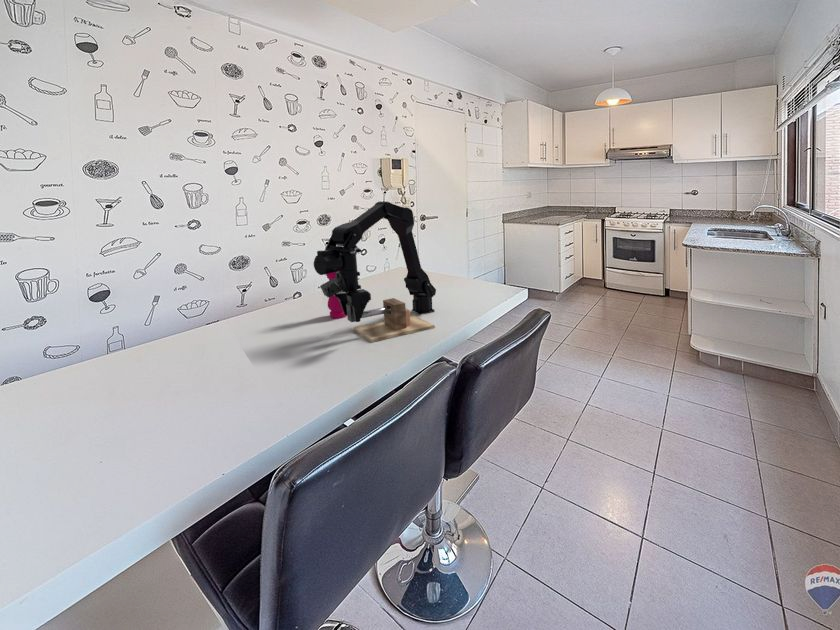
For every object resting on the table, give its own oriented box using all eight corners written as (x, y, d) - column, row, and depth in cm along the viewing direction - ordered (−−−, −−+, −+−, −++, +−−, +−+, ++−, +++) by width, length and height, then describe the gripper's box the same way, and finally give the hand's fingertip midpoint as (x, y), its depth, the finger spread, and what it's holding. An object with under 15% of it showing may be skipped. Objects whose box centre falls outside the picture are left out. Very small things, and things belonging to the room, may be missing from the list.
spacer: (402, 321, 152) (401, 306, 151) (410, 325, 148) (409, 309, 146) (397, 322, 152) (396, 307, 150) (405, 326, 147) (404, 311, 145)
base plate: (413, 317, 160) (413, 315, 159) (434, 327, 148) (434, 324, 148) (353, 330, 149) (353, 327, 148) (371, 342, 137) (371, 339, 137)
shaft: (394, 310, 148) (393, 295, 147) (398, 312, 146) (397, 297, 144) (347, 319, 141) (346, 303, 139) (351, 322, 138) (350, 306, 136)
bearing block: (395, 321, 153) (393, 298, 150) (406, 327, 146) (405, 303, 143) (384, 324, 151) (383, 300, 148) (395, 330, 144) (394, 305, 142)
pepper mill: (344, 319, 161) (339, 264, 155) (325, 318, 163) (320, 264, 157) (351, 313, 168) (346, 260, 162) (333, 313, 169) (328, 260, 164)
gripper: (311, 268, 139) (317, 316, 143) (333, 277, 123) (338, 331, 128) (345, 263, 144) (349, 310, 149) (369, 272, 129) (373, 323, 133)
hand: (351, 318), depth 139 cm, fingers open, 9 cm apart
